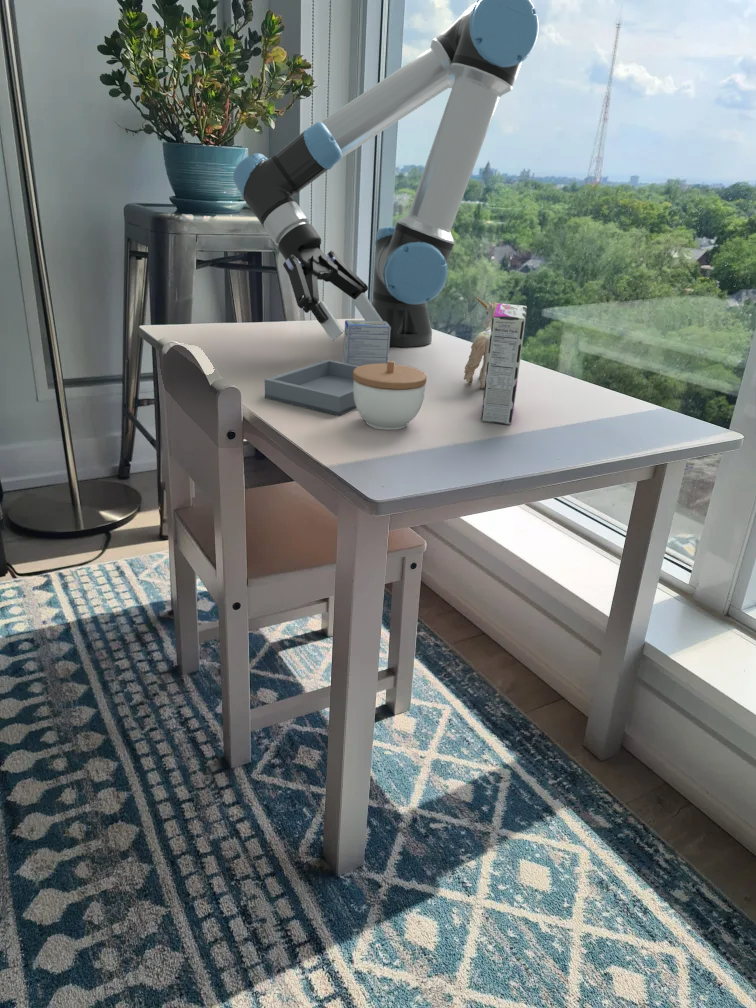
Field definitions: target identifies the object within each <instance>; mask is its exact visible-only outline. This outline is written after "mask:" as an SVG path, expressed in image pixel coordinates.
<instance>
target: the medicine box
mask: <svg viewBox="0 0 756 1008" xmlns="http://www.w3.org/2000/svg"><path fill="white" fill-rule="evenodd" d="M343 331H344V332H343V333H344V335H343V337H344V338H343V356H342V357H343V358H342V360H343V361H342V362H343V363H348V364H352V365H357V366H362V365H367V364H387V361H389V358H390V357H389V354H390V346H389V344H390V331H391V327H390V326H389V324H388V323H387V322H386V321H367V320H365V319H364V320H362V319H361V320H359V319H356V320H355V319H346V320H344V330H343Z"/></svg>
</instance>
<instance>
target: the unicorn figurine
mask: <svg viewBox="0 0 756 1008" xmlns="http://www.w3.org/2000/svg"><path fill="white" fill-rule="evenodd" d="M475 299H476V300H477V301H478V302H479V303H480V305H482V306H483V308H484V309H485V316H484V320H482V323H481V324H482V327H483V328H484V329H485V330H484V331H481V332H479V333H478V334H477V335H476V336H475V337H474V339H473V341H472V345H471V346H470V348H471V351H470V354H469V356H468V361H467V362H466V364H465V366H464V376H463V380H464V381H465V382H466V383H468V384H473V380H474V375H475V371H476V369H478V368H479V366H480V363H481V362H482V366H481V368H480V371H479V378H480V381H479V387H480V389H483V390H484V389H485V379H486V371H487V362H488V353H489V344H490V335H491V327H492V317H493V314H494V312H495V309H496V305H497V304H500V303H498V302H496V301H494V302H492V303H491V302H490V301H487V303H488V304H487V303H486V302H484V301H483V300H482V299H480V298H479V297H478V296H475Z"/></svg>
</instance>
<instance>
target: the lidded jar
mask: <svg viewBox="0 0 756 1008" xmlns="http://www.w3.org/2000/svg"><path fill="white" fill-rule="evenodd" d="M353 379H354V380H353V395H354V402H355V405H356V410H357V412H358V414H359V415H360V417H362V419H363V420H365V424H366V425H367V426H369V427H371V428H373V429H378V430H383V431H384V430H385V431H398V430H403V429H404V428H406V427H407V424H409V423H410V422H412V420H414V419H415V418H416V416H418V413H419V412H420V410H421V407H422V404H423V401H424V396H425V391H426V383H427V374H426V373H425V372H423V371H422V370H420V369H418V368H415V367H412V366H407V365H401V364H395V361H394V360H388V361H387V364H367V365H362V366H359V367H357V368H355V369H354V371H353Z"/></svg>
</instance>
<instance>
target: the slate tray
mask: <svg viewBox="0 0 756 1008" xmlns="http://www.w3.org/2000/svg"><path fill="white" fill-rule="evenodd" d="M357 367H359V366H357V365H352V364H348V363H343V361H342V362H341V361H337V360H332V359H328V358H327V359H325V360H321V361H318V362H315V363H312V364H309V365H305V366H303V367H300V368H296V369H294V370H290V371H286V372H284V373H281V374H277V375H274V376H271V377H268V378H265V379H264V399H268V400H272V401H276V402H280V403H285V404H288V405H291V406H292V405H293V406H296V407H300V408H304V409H308V410H313V411H315V412H321V413H324V414H329V415H333V416H336V417H337V416H338V417H340V416H341V415H345V414H347V413H349V412H351V411H353V410H355V409H356V410H357V408H356V405H355V402H354V395H353V380H354V379H353V371H354V369H355V368H357Z"/></svg>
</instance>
